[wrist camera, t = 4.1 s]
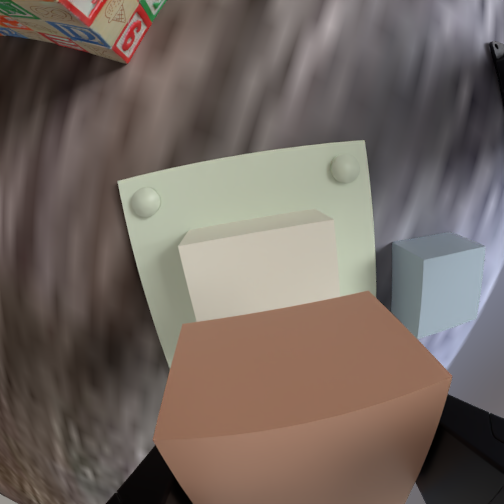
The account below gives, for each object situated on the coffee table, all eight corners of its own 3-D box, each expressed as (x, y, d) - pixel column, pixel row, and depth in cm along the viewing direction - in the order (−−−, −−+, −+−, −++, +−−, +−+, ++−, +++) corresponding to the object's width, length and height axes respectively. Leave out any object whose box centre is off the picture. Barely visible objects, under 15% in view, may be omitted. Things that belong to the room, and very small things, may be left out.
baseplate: (360, 140, 17) (367, 139, 16) (371, 347, 21) (377, 354, 20) (121, 180, 17) (115, 181, 16) (177, 381, 20) (175, 390, 19)
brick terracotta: (368, 290, 8) (452, 376, 4) (363, 417, 9) (404, 503, 6) (182, 324, 8) (152, 440, 4) (222, 444, 9) (222, 542, 5)
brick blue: (449, 231, 19) (485, 246, 15) (445, 296, 20) (476, 318, 16) (391, 241, 19) (423, 259, 15) (390, 310, 20) (417, 339, 16)
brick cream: (314, 208, 17) (333, 219, 14) (325, 319, 19) (342, 349, 16) (188, 229, 17) (178, 246, 14) (214, 339, 19) (211, 373, 16)
